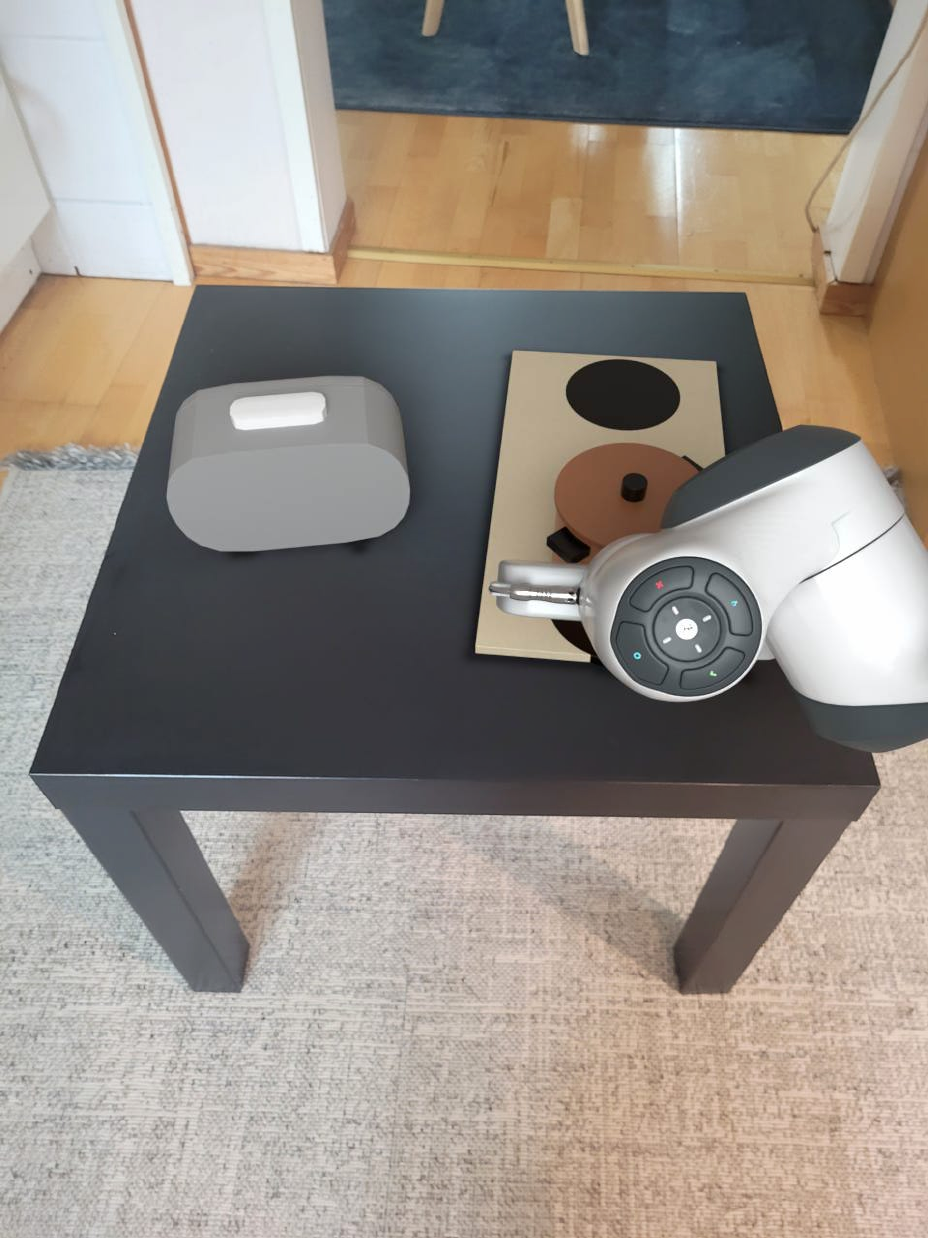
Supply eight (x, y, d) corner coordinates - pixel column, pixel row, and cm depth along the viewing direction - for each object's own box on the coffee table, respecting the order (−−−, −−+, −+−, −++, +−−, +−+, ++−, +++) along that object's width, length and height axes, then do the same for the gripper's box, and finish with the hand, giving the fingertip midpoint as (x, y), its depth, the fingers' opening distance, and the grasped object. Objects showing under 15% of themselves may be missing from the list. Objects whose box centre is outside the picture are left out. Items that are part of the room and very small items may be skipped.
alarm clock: (405, 472, 92) (396, 356, 82) (414, 541, 86) (405, 427, 76) (194, 491, 91) (157, 376, 80) (188, 563, 85) (147, 449, 74)
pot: (632, 493, 88) (648, 402, 80) (734, 571, 82) (762, 481, 74) (505, 569, 83) (508, 480, 74) (603, 660, 76) (619, 573, 68)
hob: (714, 368, 102) (716, 361, 101) (743, 674, 76) (746, 667, 76) (512, 357, 104) (513, 349, 103) (475, 653, 78) (475, 646, 77)
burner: (677, 369, 102) (678, 361, 101) (681, 442, 94) (682, 434, 94) (566, 363, 103) (567, 355, 102) (562, 434, 95) (562, 426, 95)
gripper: (483, 638, 61) (493, 617, 75) (801, 662, 60) (752, 636, 74) (490, 541, 61) (498, 538, 74) (812, 563, 59) (760, 556, 73)
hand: (626, 587), depth 74 cm, fingers closed, pressing on pot
